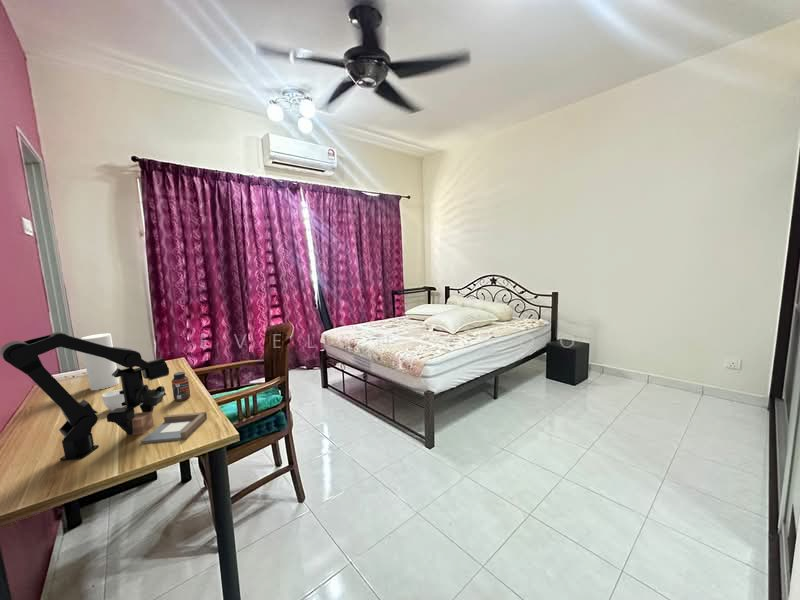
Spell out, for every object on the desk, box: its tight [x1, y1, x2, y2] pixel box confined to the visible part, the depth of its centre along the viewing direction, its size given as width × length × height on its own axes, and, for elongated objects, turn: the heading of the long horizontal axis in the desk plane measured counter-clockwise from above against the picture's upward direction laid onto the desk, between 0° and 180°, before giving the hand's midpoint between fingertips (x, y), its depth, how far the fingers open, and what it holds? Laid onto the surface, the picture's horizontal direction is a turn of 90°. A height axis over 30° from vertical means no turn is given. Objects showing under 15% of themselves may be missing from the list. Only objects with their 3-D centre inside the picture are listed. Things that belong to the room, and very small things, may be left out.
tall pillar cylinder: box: [80, 332, 120, 391], centre depth 159 cm, size 11×11×25 cm
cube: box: [125, 411, 155, 436], centre depth 115 cm, size 6×6×6 cm
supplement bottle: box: [171, 371, 191, 402], centre depth 140 cm, size 6×6×11 cm
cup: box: [101, 388, 125, 412], centre depth 134 cm, size 8×10×7 cm
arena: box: [140, 411, 208, 444], centre depth 114 cm, size 14×14×2 cm
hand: (140, 427), depth 115 cm, fingers open, 9 cm apart
